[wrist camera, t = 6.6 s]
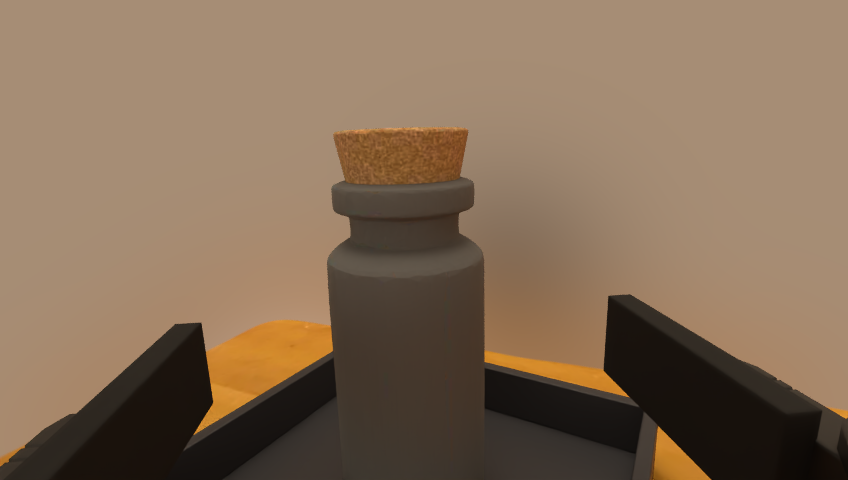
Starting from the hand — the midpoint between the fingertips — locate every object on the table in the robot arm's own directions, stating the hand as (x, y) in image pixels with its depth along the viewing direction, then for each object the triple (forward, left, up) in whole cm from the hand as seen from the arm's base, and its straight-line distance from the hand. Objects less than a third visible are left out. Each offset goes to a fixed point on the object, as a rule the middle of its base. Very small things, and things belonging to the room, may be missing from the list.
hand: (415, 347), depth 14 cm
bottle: (-2, +2, -8) cm, 9 cm away
